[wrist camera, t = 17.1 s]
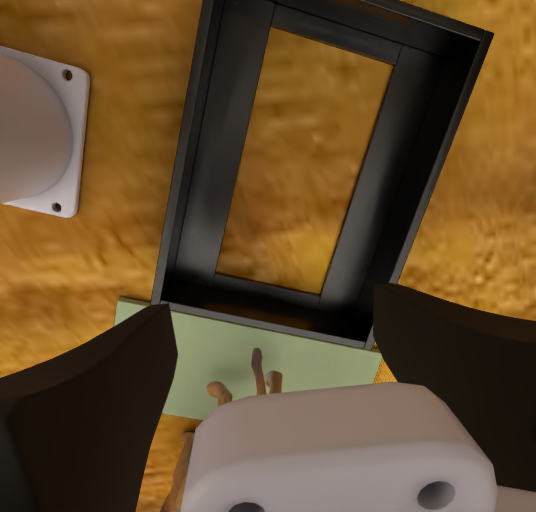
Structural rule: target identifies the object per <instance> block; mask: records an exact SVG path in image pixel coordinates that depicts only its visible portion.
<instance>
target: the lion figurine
mask: <svg viewBox="0 0 536 512" xmlns="http://www.w3.org/2000/svg"><path fill="white" fill-rule="evenodd" d="M262 359H263V356H262V352H261V350H260V348H254V349H253V353H252V362H251V367H252V369H253V372H254V375H255V380H256V388H257V395H264V394H266V387H265V384H266V385H267V386H268V387H269V388H270V389H269V394H274V393H282V378H283V375H282V373H280V372H278V371H269V372H268V373H266V375H265V377H264V375H263V371H262ZM207 392H208V394H209V395H210V396H211V397H215V398H218V405H217V406H220V405H223V404H226V403H229V402H232V398H233V395H232V394H231V393H230V392H229V390H228V389H227V387H226V386H225V385H224V383H222V382H220V381H212V382H210V383H209V384H208V385H207ZM194 435H195V433H193V432H185V433H183V434H182V435H181V438H180V439H181V441H182V442H183V443H184V447H183V449H182V452H181V454H180V457H179V460H178V463H177V465H176V468H175V471H174V475H173V485H172V489H171V492H170V493H169V495H168V496H167V498H166V500H165V501H164V503H163V505H162V508H161V510H160V512H173V511H176V510H178V509H181V506H182V500H183V494H184V489H185V483H186V478H187V473H188V467H189V462H190V457H191V451H192V446H193V441H194Z"/></svg>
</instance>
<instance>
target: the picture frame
mask: <svg viewBox="0 0 536 512" xmlns="http://www.w3.org/2000/svg"><path fill="white" fill-rule="evenodd" d="M270 26H271V27H273V28H276V29H280V30H283V31H286V32H289V33H292V34H295V35H299V36H302V37H305V38H308V39H311V40H314V41H318V42H321V43H324V44H327V45H330V46H333V47H337V48H340V49H343V50H346V51H349V52H352V53H356V54H359V55H362V56H365V57H368V58H371V59H375V60H378V61H381V62H384V63H387V64H390V65H394V68H393V71H392V74H391V77H390V80H389V83H388V86H387V89H386V92H385V95H384V98H383V102H382V105H381V108H380V111H379V114H378V117H377V120H376V123H375V126H374V129H373V132H372V136H371V139H370V142H369V145H368V148H367V151H366V154H365V157H364V160H363V163H362V166H361V170H360V173H359V176H358V179H357V182H356V185H355V188H354V191H353V194H352V197H351V200H350V204H349V207H348V210H347V213H346V216H345V219H344V222H343V225H342V228H341V231H340V234H339V237H338V241H337V244H336V247H335V250H334V253H333V256H332V259H331V262H330V265H329V268H328V271H327V275H326V278H325V281H324V284H323V287H322V290H321V293H320V295H317V294H312V293H307V292H303V291H298V290H294V289H289V288H285V287H280V286H275V285H271V284H266V283H262V282H257V281H253V280H248V279H243V278H239V277H234V276H230V275H225V274H220V273H216V272H215V271H216V266H217V262H218V258H219V253H220V249H221V244H222V240H223V235H224V231H225V226H226V222H227V218H228V213H229V209H230V204H231V200H232V195H233V191H234V186H235V182H236V177H237V173H238V169H239V164H240V160H241V155H242V151H243V146H244V142H245V137H246V133H247V129H248V124H249V120H250V115H251V111H252V106H253V102H254V97H255V93H256V89H257V84H258V80H259V75H260V71H261V66H262V62H263V57H264V53H265V48H266V44H267V40H268V35H269V31H270ZM493 36H494V33H493V32H490V31H487V30H484V29H481V28H478V27H475V26H472V25H469V24H466V23H463V22H460V21H458V20H455V19H452V18H449V17H446V16H443V15H440V14H437V13H434V12H431V11H428V10H425V9H422V8H420V7H417V6H414V5H411V4H408V3H405V2H402V1H399V0H203V1H202V7H201V13H200V19H199V25H198V30H197V36H196V42H195V48H194V54H193V59H192V65H191V71H190V77H189V83H188V88H187V94H186V100H185V106H184V112H183V117H182V123H181V129H180V135H179V141H178V146H177V152H176V158H175V164H174V170H173V175H172V181H171V187H170V193H169V199H168V204H167V210H166V216H165V222H164V228H163V233H162V239H161V245H160V251H159V257H158V262H157V268H156V274H155V280H154V286H153V291H152V297H151V303H150V305H155V304H166V303H169V305H170V310H173V311H178V312H183V313H188V314H193V315H198V316H203V317H208V318H213V319H218V320H223V321H228V322H233V323H238V324H243V325H248V326H253V327H257V328H262V329H267V330H272V331H277V332H282V333H287V334H292V335H297V336H302V337H307V338H312V339H317V340H322V341H327V342H332V343H337V344H342V345H347V346H352V347H357V348H362V349H363V348H364V349H367V350H371V349H372V347H373V344H374V342H375V340H374V337H373V308H374V285H375V284H386V283H394V284H397V283H398V280H399V278H400V275H401V272H402V270H403V267H404V265H405V262H406V260H407V257H408V254H409V252H410V249H411V247H412V244H413V242H414V239H415V236H416V234H417V231H418V229H419V226H420V224H421V221H422V218H423V216H424V213H425V211H426V208H427V206H428V203H429V200H430V198H431V195H432V193H433V190H434V188H435V185H436V182H437V180H438V177H439V175H440V172H441V170H442V167H443V165H444V162H445V159H446V157H447V154H448V152H449V149H450V147H451V144H452V141H453V139H454V136H455V134H456V131H457V129H458V126H459V123H460V121H461V118H462V116H463V113H464V111H465V108H466V105H467V103H468V100H469V98H470V95H471V93H472V90H473V87H474V85H475V82H476V80H477V77H478V75H479V72H480V69H481V67H482V64H483V62H484V59H485V57H486V54H487V52H488V49H489V46H490V44H491V41H492V39H493Z"/></svg>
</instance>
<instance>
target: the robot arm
mask: <svg viewBox="0 0 536 512" xmlns="http://www.w3.org/2000/svg"><path fill="white" fill-rule="evenodd" d="M68 71H71V73H72V76H73V77H72V79H71V80H70V81H68V80H67V79H66V73H67V72H68ZM89 90H90V77H89V75H88V73H87V72H86V71H85V70H83V69H81V68H78V67H75V66H71V65H68V64H64V63H61V62H57V61H53V60H50V59H46V58H43V57H39V56H36V55H32V54H28V53H25V52H21V51H18V50H14V49H11V48H7V47H3V46H0V203H2V204H6V205H11V206H15V207H20V208H24V209H28V210H33V211H37V212H42V213H46V214H51V215H55V216H59V217H64V218H70V217H73V216H75V215H76V214H77V211H78V202H79V192H80V182H81V172H82V161H83V151H84V141H85V131H86V121H87V110H88V100H89ZM56 203H58V204H60V206H61V211H59V210H57V209H56V206H55V205H56ZM373 337H374V340H375V342H376V344H377V347H378V349H379V351H380V353H381V355H382V357H383V359H384V361H385V362H386V364H387V366H388V367H389V369H390V370H391V372H392V373H393V375H394V377H395V378H396V380H397V381H398V382H384V383H374V384H364V385H354V386H344V387H334V388H324V389H314V390H304V391H294V392H284V393H274V394H264V395H254V396H247V397H244V398H241V399H238V400H235V401H232V402H229V403H226V404H223V405H220V406H217V407H216V408H215V409H214V410H213V411H212V412H211V413H210V414H209V415H208V416H207V417H206V418H205V419H204V420H203V421H202V422H201V424H200V425H199V426H198V427H197V428H196V430H195V435H194V441H193V446H192V451H191V457H190V462H189V467H188V473H187V478H186V483H185V489H184V494H183V500H182V506H181V509H178V510H176V511H173V512H536V321H531V320H525V319H518V318H513V317H508V316H503V315H498V314H494V313H489V312H485V311H481V310H477V309H473V308H469V307H466V306H463V305H459V304H456V303H453V302H449V301H446V300H443V299H440V298H437V297H434V296H432V295H429V294H426V293H423V292H420V291H417V290H414V289H412V288H409V287H405V286H402V285H399V284H394V283H386V284H375V285H374V308H373ZM177 359H178V350H177V344H176V339H175V333H174V328H173V322H172V316H171V311H170V305H169V303H166V304H155V305H150V306H147V307H145V308H144V309H142V310H140V311H138V312H137V313H135V314H133V315H132V316H130V317H129V318H127V319H125V320H124V321H122V322H120V323H119V324H117V325H116V326H114V327H112V328H111V329H109V330H107V331H105V332H104V333H102V334H100V335H98V336H97V337H95V338H93V339H91V340H90V341H88V342H86V343H84V344H82V345H80V346H78V347H76V348H74V349H72V350H70V351H68V352H66V353H64V354H62V355H59V356H57V357H55V358H53V359H50V360H48V361H45V362H42V363H40V364H37V365H35V366H32V367H30V368H27V369H24V370H22V371H19V372H16V373H14V374H11V375H8V376H5V377H1V378H0V512H136V507H137V502H138V498H139V493H140V488H141V483H142V479H143V475H144V471H145V466H146V462H147V458H148V454H149V450H150V446H151V443H152V440H153V436H154V434H155V431H156V428H157V425H158V422H159V420H160V417H161V414H162V411H163V408H164V405H165V403H166V400H167V397H168V394H169V391H170V388H171V385H172V382H173V379H174V375H175V370H176V364H177Z"/></svg>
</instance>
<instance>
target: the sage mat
mask: <svg viewBox="0 0 536 512" xmlns="http://www.w3.org/2000/svg"><path fill="white" fill-rule="evenodd" d="M147 306H150V303H148V302H143V301H138V300H133V299H128V298H123V297H121V298H120V299H119V300H118V302H117V309H116V316H115V323H114V326H116V325H117V324H119V323H120V322H122V321H124V320H125V319H127V318H129V317H130V316H132V315H133V314H135V313H137V312H138V311H140V310H142V309H144V308H145V307H147ZM170 311H171V316H172V322H173V328H174V333H175V339H176V344H177V350H178V359H177V364H176V370H175V375H174V379H173V382H172V385H171V388H170V391H169V394H168V397H167V400H166V403H165V405H164V408H163V411H162V414H168V415H174V416H180V417H187V418H193V419H199V420H204V419H205V418H206V417H207V416H208V415H209V414H210V413H211V412H212V411H213V410H214V409H215V408H216V407H217V405H218V398H215V397H211V396H210V395H209V394H208V392H207V385H208V384H209V383H210V382H212V381H220V382H222V383H224V385H225V386H226V387H227V389H228V390H229V392H230V393H231V394H232V395H233V398H232V401H235V400H238V399H241V398H244V397H247V396H254V395H257V388H256V380H255V375H254V372H253V369H252V367H251V362H252V353H253V349H254V348H260V350H261V352H262V356H263V359H262V371H263V375H264V377H265V375H266V373H268V372H269V371H278V372H280V373H282V375H283V378H282V393H284V392H294V391H304V390H314V389H324V388H334V387H344V386H354V385H364V384H372V383H373V380H374V378H375V375H376V373H377V370H378V368H379V365H380V363H381V360H382V358H383V357H382V355H381V353H380V351H379V349H376V348H372V349H371V350H367V349H364V348H363V349H362V348H357V347H352V346H347V345H342V344H337V343H332V342H327V341H322V340H317V339H312V338H307V337H302V336H297V335H292V334H287V333H282V332H277V331H272V330H267V329H262V328H257V327H253V326H248V325H243V324H238V323H233V322H228V321H223V320H218V319H213V318H208V317H203V316H198V315H193V314H188V313H183V312H178V311H173V310H170ZM265 387H266V394H269V389H270V388H269V387H268V386H267V385H266V384H265Z"/></svg>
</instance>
